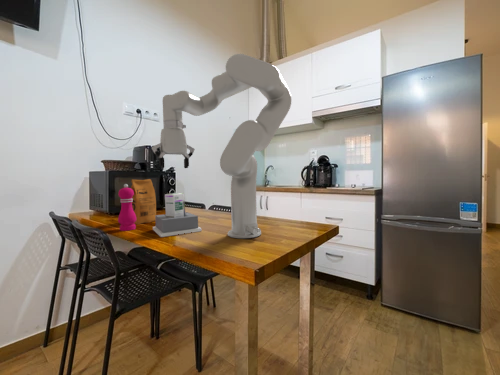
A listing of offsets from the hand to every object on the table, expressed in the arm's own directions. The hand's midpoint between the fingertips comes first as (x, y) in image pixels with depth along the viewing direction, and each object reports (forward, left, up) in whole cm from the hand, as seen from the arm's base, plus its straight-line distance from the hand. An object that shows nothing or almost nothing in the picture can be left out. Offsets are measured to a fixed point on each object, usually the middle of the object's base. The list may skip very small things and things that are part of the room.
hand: (174, 168), depth 98 cm
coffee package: (+31, +9, -26) cm, 42 cm away
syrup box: (0, 0, -25) cm, 25 cm away
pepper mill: (+16, +17, -26) cm, 35 cm away
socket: (0, 0, -26) cm, 26 cm away
